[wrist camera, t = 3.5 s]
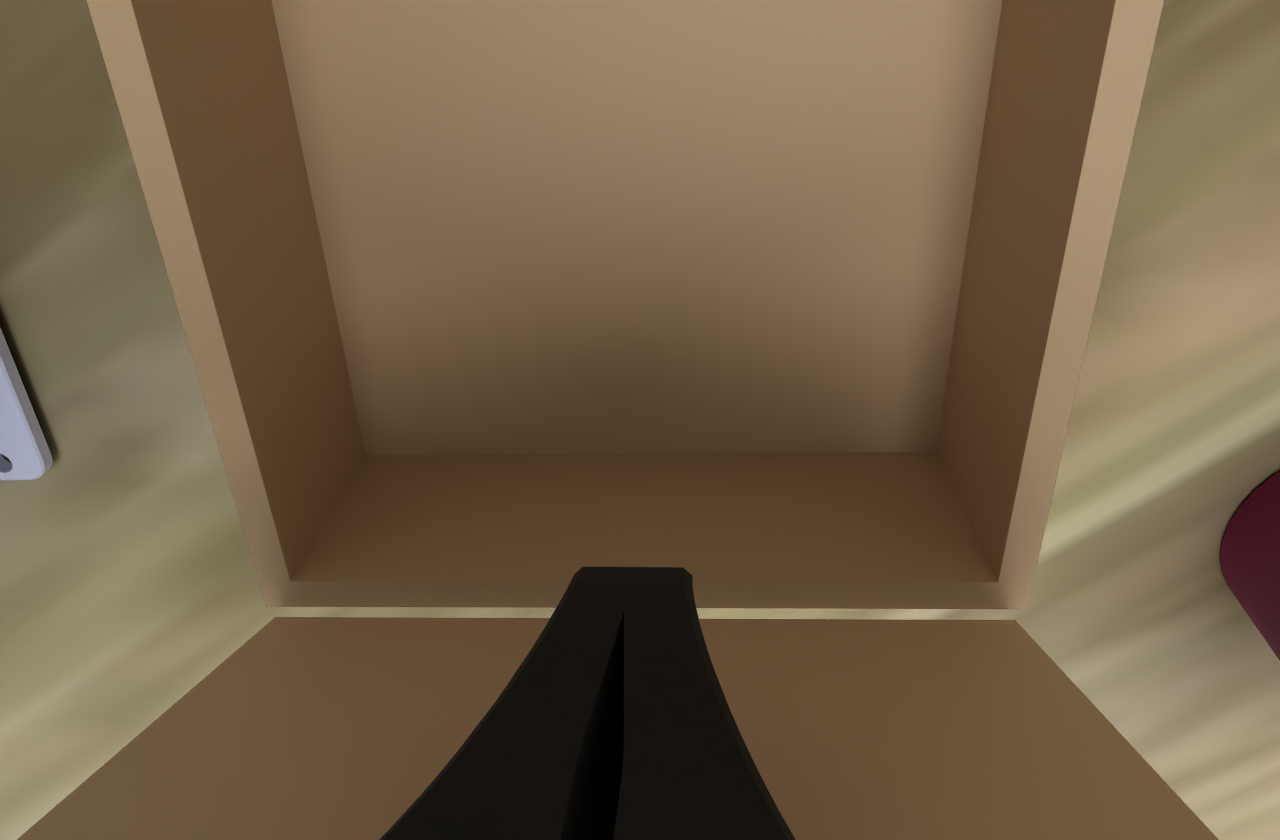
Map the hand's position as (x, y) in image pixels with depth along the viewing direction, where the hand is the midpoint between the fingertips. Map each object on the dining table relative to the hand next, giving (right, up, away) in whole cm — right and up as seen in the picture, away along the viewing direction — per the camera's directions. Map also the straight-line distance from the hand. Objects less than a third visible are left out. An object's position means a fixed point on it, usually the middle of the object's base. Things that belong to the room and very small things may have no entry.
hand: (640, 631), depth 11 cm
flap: (0, -2, +2) cm, 3 cm away
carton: (0, +9, +6) cm, 11 cm away
